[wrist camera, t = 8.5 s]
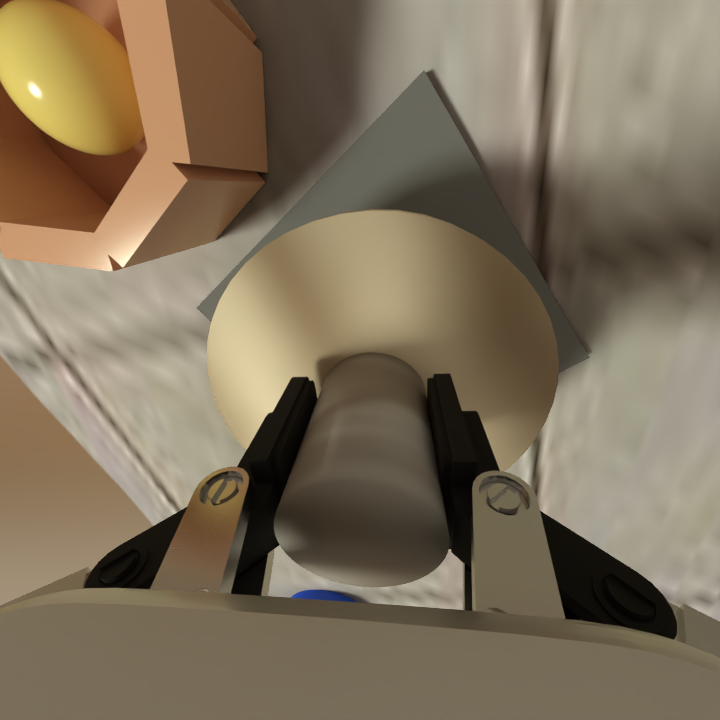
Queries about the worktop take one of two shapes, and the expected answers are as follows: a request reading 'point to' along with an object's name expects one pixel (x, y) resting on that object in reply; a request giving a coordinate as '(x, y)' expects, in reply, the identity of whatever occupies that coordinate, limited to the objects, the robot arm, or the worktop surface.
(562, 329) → the mat
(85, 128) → the bowl
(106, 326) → the worktop surface
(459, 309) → the lid
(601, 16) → the worktop surface
